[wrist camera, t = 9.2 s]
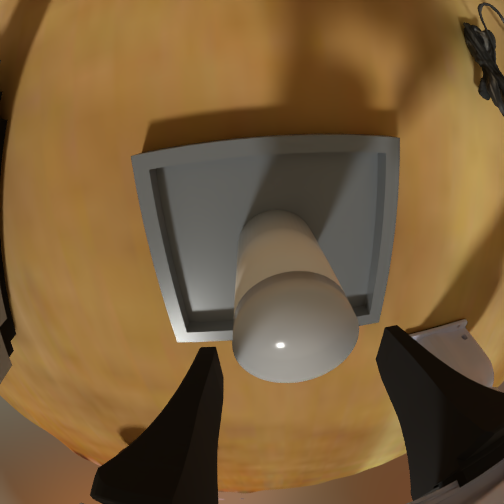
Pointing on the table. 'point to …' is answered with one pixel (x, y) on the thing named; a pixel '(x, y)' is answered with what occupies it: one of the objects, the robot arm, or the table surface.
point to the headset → (486, 60)
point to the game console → (4, 295)
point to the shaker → (288, 303)
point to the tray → (261, 200)
